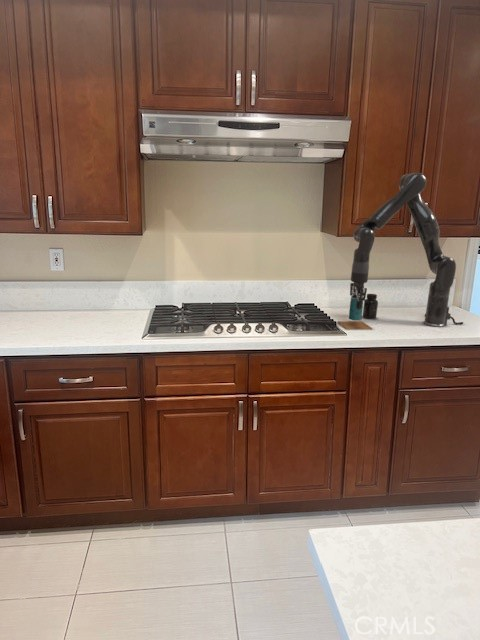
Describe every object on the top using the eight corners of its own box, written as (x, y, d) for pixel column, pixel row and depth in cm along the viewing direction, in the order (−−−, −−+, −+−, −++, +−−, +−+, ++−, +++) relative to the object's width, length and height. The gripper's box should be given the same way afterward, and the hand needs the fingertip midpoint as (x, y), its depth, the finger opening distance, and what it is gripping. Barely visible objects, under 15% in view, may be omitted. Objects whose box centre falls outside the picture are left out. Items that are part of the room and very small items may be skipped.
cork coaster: (361, 322, 226) (361, 321, 226) (371, 329, 214) (371, 327, 214) (337, 322, 224) (337, 321, 224) (346, 329, 213) (347, 328, 212)
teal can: (358, 317, 222) (360, 296, 219) (363, 320, 216) (365, 299, 213) (346, 317, 221) (348, 296, 218) (351, 320, 215) (353, 299, 213)
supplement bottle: (376, 319, 232) (379, 296, 229) (362, 318, 233) (365, 295, 230) (375, 316, 238) (378, 293, 235) (362, 315, 240) (364, 292, 237)
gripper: (374, 274, 206) (370, 311, 211) (361, 269, 220) (357, 303, 224) (358, 273, 205) (354, 310, 210) (346, 268, 219) (343, 303, 223)
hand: (356, 307), depth 217 cm, fingers closed on teal can, 5 cm apart
